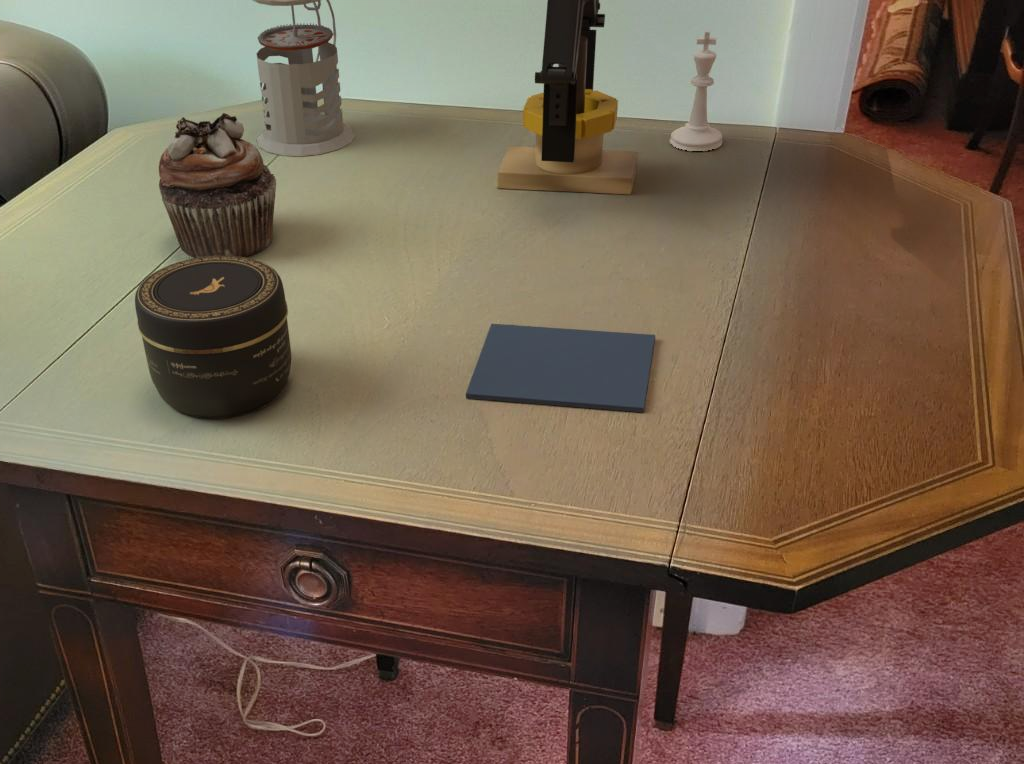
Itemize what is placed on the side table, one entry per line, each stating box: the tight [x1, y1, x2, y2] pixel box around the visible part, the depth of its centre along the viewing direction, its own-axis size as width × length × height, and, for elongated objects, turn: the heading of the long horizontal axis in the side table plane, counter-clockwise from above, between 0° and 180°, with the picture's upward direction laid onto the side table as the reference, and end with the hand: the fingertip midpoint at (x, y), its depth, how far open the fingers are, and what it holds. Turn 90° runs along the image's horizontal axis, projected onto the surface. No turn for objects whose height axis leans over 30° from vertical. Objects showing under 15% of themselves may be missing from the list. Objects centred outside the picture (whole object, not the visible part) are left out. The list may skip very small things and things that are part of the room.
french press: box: [252, 0, 356, 157], centre depth 114 cm, size 10×12×25 cm
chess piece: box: [669, 30, 723, 152], centre depth 113 cm, size 5×5×10 cm
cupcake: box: [158, 112, 277, 258], centre depth 100 cm, size 10×10×10 cm
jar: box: [134, 256, 292, 419], centre depth 83 cm, size 10×10×8 cm
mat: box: [465, 323, 656, 413], centre depth 85 cm, size 12×10×1 cm
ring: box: [522, 89, 619, 139], centre depth 107 cm, size 8×8×2 cm
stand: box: [496, 35, 639, 195], centre depth 107 cm, size 12×6×12 cm, turn 78°
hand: (568, 131), depth 108 cm, fingers open, 13 cm apart
